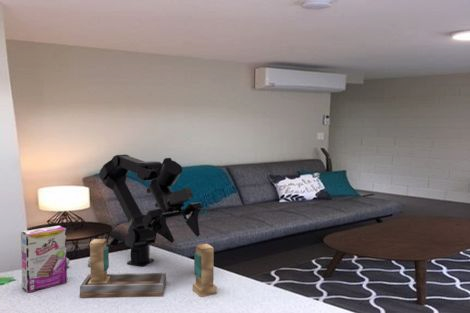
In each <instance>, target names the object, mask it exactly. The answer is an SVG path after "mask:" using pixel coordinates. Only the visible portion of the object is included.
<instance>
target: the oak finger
mask: <svg viewBox="0 0 470 313" xmlns="http://www.w3.org/2000/svg"><path fill="white" fill-rule="evenodd" d="M214 255H215V254H214V247H213V246H212V245H210V244H209V243H202V244H196V245H195V252H194V256H193V257H194V262H193V263H194V271H193V272H194V275H195V283H192V292H193V293H194V294H196V295H197V296H198V297H199V298H202V297H207V296H212V295H217V294H218V293H217V292H218V290H217V289H218V287H217V285H215V284H214V259H215V258H214Z"/></svg>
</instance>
